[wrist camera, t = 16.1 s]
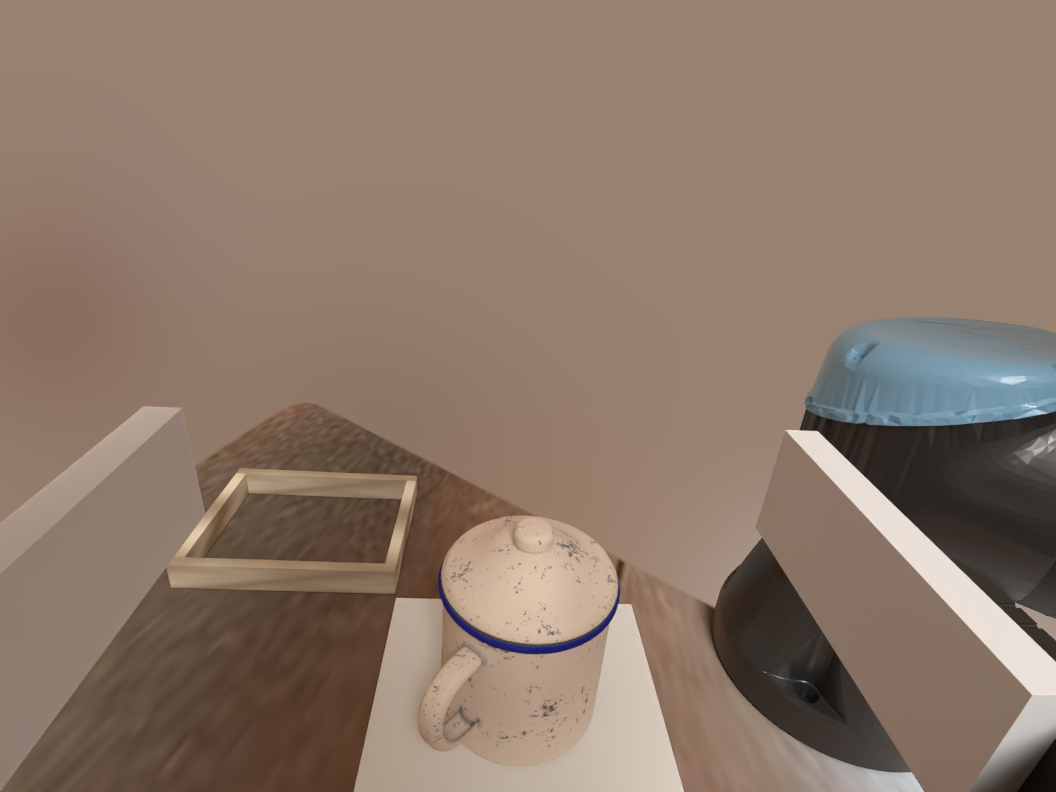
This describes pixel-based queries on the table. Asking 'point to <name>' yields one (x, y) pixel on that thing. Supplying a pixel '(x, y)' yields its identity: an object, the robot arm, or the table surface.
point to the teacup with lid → (519, 640)
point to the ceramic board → (491, 788)
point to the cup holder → (294, 575)
